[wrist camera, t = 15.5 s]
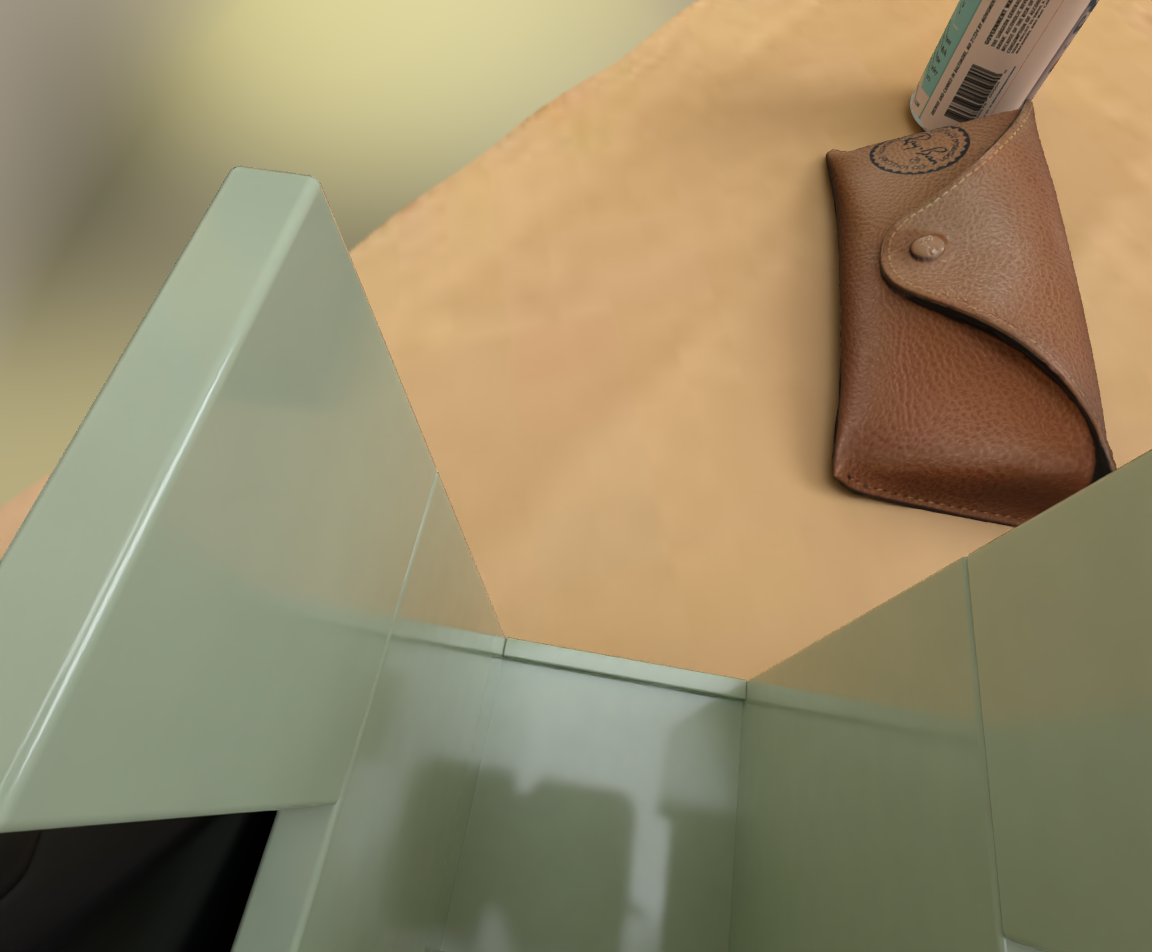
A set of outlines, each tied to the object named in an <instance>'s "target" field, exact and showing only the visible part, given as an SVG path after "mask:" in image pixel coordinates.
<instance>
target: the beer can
mask: <svg viewBox="0 0 1152 952" xmlns="http://www.w3.org/2000/svg"><path fill="white" fill-rule="evenodd" d="M1098 1H1099V0H960V1H959V3H958V5H957V7H956V9H955V11H954V13H953V15H952V17H951V19H950V21H949V23H948V25H947V27H946V29H945V31H944V33H943V35H942V37H941V39H940V41H939V43H938V45H937V47H936V49H935V51H934V53H933V55H932V57H931V59H930V61H929V63H928V65H927V67H926V69H925V71H924V73H923V75H922V77H921V79H920V81H919V83H918V85H917V87H916V89H915V91H914V92H913V94H912V96H911V99H910V109H911V113H912V115H913V117H914V119H915V121H916V122H917V123H918V124H919V125H920V126H921V127H922V128H923V129H924V130H925V131H930V130H933V129H937V128H941V127H945V126H950V125H954V124H958V123H962V122H966V121H969V120H974V119H978V118H982V117H986V116H989V115H993V114H998V113H1001V112H1006V111H1013V110H1017V109H1021V108H1022V106H1023V104H1024V102H1025V100H1026V99H1030V100H1032V99H1033V97H1034V96H1035V94H1036V93H1037V91H1038V90H1039V88H1040V87H1041V85H1042V84H1043V82H1044V81H1045V79H1046V78H1047V77H1048V75H1049V74H1050V72H1051V71H1052V69H1053V68H1054V66H1055V65H1056V63H1057V62H1058V60H1059V59H1060V57H1061V56H1062V54H1063V53H1064V51H1065V50H1066V49H1067V47H1068V46H1069V44H1070V43H1071V41H1072V40H1073V38H1074V37H1075V35H1076V34H1077V32H1078V31H1079V29H1080V28H1081V26H1082V25H1083V23H1084V22H1085V20H1086V19H1087V18H1088V16H1089V15H1090V13H1091V12H1092V10H1093V9H1094V7H1095V6H1096V4H1097V3H1098Z"/></svg>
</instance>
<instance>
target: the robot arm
mask: <svg viewBox="0 0 1152 952" xmlns="http://www.w3.org/2000/svg"><path fill="white" fill-rule="evenodd" d="M276 813H277V810H275V811H264V812H252V813H241V814H229V815H218V816H206V817H195V818H183V819H171V820H160V821H148V822H137V823H125V824H114V825H102V826H90V827H79V828H67V829H56V830H44V831H33V832H21V833H10V834H0V952H230V951H231V948H232V945H233V942H234V939H235V936H236V933H237V930H238V927H239V924H240V921H241V918H242V915H243V912H244V909H245V906H246V903H247V900H248V897H249V894H250V891H251V888H252V885H253V882H254V879H255V876H256V873H257V870H258V867H259V864H260V861H261V858H262V855H263V852H264V849H265V846H266V843H267V840H268V837H269V834H270V831H271V828H272V825H273V822H274V819H275V816H276Z"/></svg>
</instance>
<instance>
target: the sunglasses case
mask: <svg viewBox="0 0 1152 952" xmlns="http://www.w3.org/2000/svg"><path fill="white" fill-rule="evenodd" d="M826 162H827V168H828V173H829V178H830V182H831V187H832V192H833V197H834V203H835V211H836V219H837V230H838V247H839V270H840V306H841V322H840V323H841V331H840V337H841V344H840V346H841V359H840V380H839V405H838V411H837V417H836V424H835V435H834V445H833V456H832V473H833V478H834V479H835V480H837V481H838V482H839V483H840V484H841V485H843V486H844V487H845V488H847V489H848V490H850V491H852V492H854V493H856V494H860V495H864V496H869V497H873V498H877V499H880V500H884V501H888V502H892V503H896V504H900V505H904V506H909V507H914V508H919V509H925V510H929V511H934V512H939V513H945V514H950V515H955V516H960V517H966V518H971V519H976V520H980V521H985V522H992V523H998V524H1003V525H1009V526H1016V527H1017V526H1019V525H1021V524H1022V523H1024V522H1026V521H1028V520H1029V519H1031V518H1033V517H1035V516H1036V515H1038V514H1040V513H1042V512H1043V511H1045V510H1047V509H1048V508H1050V507H1052V506H1054V505H1055V504H1057V503H1059V502H1061V501H1062V500H1064V499H1066V498H1068V497H1069V496H1071V495H1073V494H1075V493H1076V492H1078V491H1080V490H1082V489H1083V488H1085V487H1087V486H1089V485H1090V484H1092V483H1094V482H1096V481H1097V480H1099V479H1101V478H1103V477H1104V476H1106V475H1108V474H1109V473H1111V472H1113V471H1115V470H1116V463H1115V461H1114V460H1113V457H1112V456H1113V453H1112V450H1111V449H1110V446H1109V444H1108V441H1107V439H1106V430H1105V424H1104V416H1103V409H1102V405H1101V398H1100V391H1099V386H1098V380H1097V374H1096V370H1095V365H1094V359H1093V353H1092V348H1091V344H1090V340H1089V334H1088V329H1087V324H1086V319H1085V315H1084V309H1083V305H1082V300H1081V296H1080V292H1079V287H1078V284H1077V278H1076V275H1075V270H1074V266H1073V261H1072V257H1071V252H1070V250H1069V244H1068V242H1067V236H1066V233H1065V227H1064V224H1063V220H1062V216H1061V212H1060V208H1059V204H1058V200H1057V195H1056V191H1055V188H1054V185H1053V181H1052V178H1051V175H1050V172H1049V168H1048V165H1047V162H1046V159H1045V156H1044V152H1043V148H1042V146H1041V141H1040V139H1039V135H1038V130H1037V126H1036V122H1035V113H1034V108H1033V104H1032V102H1031V100H1030V99H1026V100H1025V102H1024V104H1023V106H1022V108H1021V109H1017V110H1013V111H1006V112H1001V113H998V114H993V115H989V116H986V117H982V118H978V119H974V120H969V121H966V122H962V123H958V124H954V125H950V126H945V127H941V128H937V129H933V130H930V131H926V132H921V133H916V134H913V135H909V136H904V137H902V138H897V139H893V140H889V141H885V142H881V143H878V144H874V145H870V146H866V147H863V148H859V149H856V150H854V151H849V152H846V151H839V150H835V149H832V150H831V151H829V152H827V154H826Z"/></svg>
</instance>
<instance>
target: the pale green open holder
mask: <svg viewBox="0 0 1152 952" xmlns="http://www.w3.org/2000/svg"><path fill="white" fill-rule="evenodd" d="M275 810H277V813H276V816H275V819H274V822H273V825H272V828H271V831H270V834H269V837H268V840H267V843H266V846H265V849H264V852H263V855H262V858H261V861H260V864H259V867H258V870H257V873H256V876H255V879H254V882H253V885H252V888H251V891H250V894H249V897H248V900H247V903H246V906H245V909H244V912H243V915H242V918H241V921H240V924H239V927H238V930H237V933H236V936H235V939H234V942H233V945H232V948H231V951H230V952H1152V449H1151V450H1150V451H1148V452H1146V453H1144V454H1143V455H1141V456H1139V457H1137V458H1136V459H1134V460H1132V461H1130V462H1129V463H1127V464H1125V465H1123V466H1122V467H1120V468H1118V469H1116V470H1115V471H1113V472H1111V473H1109V474H1108V475H1106V476H1104V477H1103V478H1101V479H1099V480H1097V481H1096V482H1094V483H1092V484H1090V485H1089V486H1087V487H1085V488H1083V489H1082V490H1080V491H1078V492H1076V493H1075V494H1073V495H1071V496H1069V497H1068V498H1066V499H1064V500H1062V501H1061V502H1059V503H1057V504H1055V505H1054V506H1052V507H1050V508H1048V509H1047V510H1045V511H1043V512H1042V513H1040V514H1038V515H1036V516H1035V517H1033V518H1031V519H1029V520H1028V521H1026V522H1024V523H1022V524H1021V525H1019V526H1017V527H1015V528H1014V529H1012V530H1010V531H1008V532H1007V533H1005V534H1003V535H1001V536H1000V537H998V538H996V539H994V540H993V541H991V542H989V543H987V544H986V545H984V546H982V547H981V548H979V549H977V550H975V551H974V552H972V553H970V554H969V555H968V557H962V558H960V559H959V560H957V561H955V562H953V563H952V564H950V565H948V566H946V567H945V568H943V569H941V570H940V571H938V572H936V573H934V574H933V575H931V576H929V577H927V578H926V579H924V580H922V581H920V582H919V583H917V584H915V585H913V586H912V587H910V588H908V589H907V590H905V591H903V592H901V593H900V594H898V595H896V596H894V597H893V598H891V599H889V600H887V601H886V602H884V603H882V604H880V605H879V606H877V607H875V608H873V609H872V610H870V611H868V612H867V613H865V614H863V615H861V616H860V617H858V618H856V619H854V620H853V621H851V622H849V623H847V624H846V625H844V626H842V627H840V628H839V629H837V630H835V631H833V632H832V633H830V634H828V635H827V636H825V637H823V638H821V639H820V640H818V641H816V642H814V643H813V644H811V645H809V646H807V647H806V648H804V649H802V650H800V651H799V652H797V653H795V654H793V655H792V656H790V657H788V658H787V659H785V660H783V661H781V662H780V663H778V664H776V665H774V666H773V667H771V668H769V669H767V670H766V671H764V672H762V673H760V674H759V675H757V676H755V677H754V678H752V679H750V680H748V681H746V680H743V679H738V678H732V677H727V676H721V675H715V674H710V673H704V672H699V671H693V670H688V669H682V668H676V667H671V666H665V665H660V664H654V663H648V662H643V661H637V660H632V659H626V658H620V657H615V656H609V655H604V654H598V653H592V652H587V651H581V650H576V649H570V648H565V647H559V646H553V645H548V644H542V643H537V642H531V641H525V640H520V639H514V638H509V637H508V638H507V639H506V637H505V635H504V632H503V630H502V627H501V625H500V622H499V620H498V618H497V615H496V613H495V610H494V608H493V605H492V603H491V600H490V598H489V596H488V593H487V591H486V588H485V586H484V583H483V581H482V578H481V576H480V573H479V571H478V569H477V566H476V564H475V561H474V559H473V556H472V554H471V551H470V549H469V546H468V544H467V542H466V539H465V537H464V534H463V532H462V529H461V527H460V524H459V522H458V520H457V517H456V515H455V512H454V510H453V507H452V505H451V502H450V500H449V497H448V495H447V493H446V490H445V488H444V485H443V483H442V480H441V478H440V475H439V473H438V472H437V469H436V465H435V463H434V461H433V458H432V456H431V453H430V451H429V448H428V446H427V443H426V441H425V438H424V436H423V434H422V431H421V429H420V426H419V424H418V421H417V419H416V416H415V414H414V411H413V409H412V407H411V404H410V402H409V399H408V397H407V394H406V392H405V389H404V387H403V384H402V382H401V380H400V377H399V375H398V372H397V370H396V367H395V365H394V362H393V360H392V358H391V355H390V353H389V350H388V348H387V345H386V343H385V340H384V338H383V335H382V333H381V331H380V328H379V326H378V323H377V321H376V318H375V316H374V313H373V311H372V308H371V306H370V304H369V301H368V299H367V296H366V294H365V291H364V289H363V286H362V284H361V281H360V279H359V277H358V274H357V272H356V269H355V267H354V264H353V262H352V259H351V257H350V254H349V252H348V250H347V247H346V245H345V242H344V240H343V237H342V235H341V233H340V230H339V228H338V225H337V223H336V220H335V218H334V215H333V213H332V211H331V208H330V206H329V203H328V201H327V198H326V196H325V193H324V191H323V188H322V186H321V183H320V182H319V181H318V180H317V179H316V178H314V177H312V176H310V175H303V174H296V173H289V172H281V171H274V170H267V169H259V168H251V167H245V166H238V167H234V168H233V169H231V170H230V171H229V173H228V175H227V176H226V178H225V180H224V181H223V183H222V185H221V187H220V188H219V190H218V192H217V193H216V195H215V197H214V199H213V200H212V202H211V204H210V205H209V207H208V209H207V210H206V212H205V214H204V216H203V217H202V219H201V221H200V222H199V224H198V226H197V227H196V229H195V231H194V232H193V234H192V236H191V238H190V239H189V241H188V243H187V244H186V246H185V248H184V250H183V251H182V253H181V255H180V256H179V258H178V260H177V262H176V263H175V265H174V266H173V268H172V270H171V272H170V273H169V275H168V277H167V278H166V280H165V282H164V283H163V285H162V287H161V289H160V290H159V292H158V294H157V295H156V297H155V299H154V300H153V302H152V304H151V306H150V307H149V309H148V311H147V312H146V314H145V316H144V317H143V319H142V321H141V323H140V324H139V326H138V328H137V329H136V331H135V333H134V334H133V336H132V338H131V340H130V341H129V343H128V345H127V346H126V348H125V350H124V351H123V353H122V355H121V357H120V358H119V360H118V362H117V363H116V365H115V367H114V368H113V370H112V372H111V374H110V375H109V377H108V379H107V380H106V382H105V384H104V385H103V387H102V389H101V390H100V392H99V394H98V396H97V397H96V399H95V401H94V402H93V404H92V406H91V408H90V409H89V411H88V413H87V414H86V416H85V418H84V420H83V421H82V423H81V424H80V426H79V428H78V430H77V431H76V433H75V435H74V437H73V438H72V440H71V442H70V443H69V445H68V447H67V448H66V450H65V452H64V453H63V455H62V457H61V458H60V460H59V462H58V464H57V465H56V467H55V469H54V470H53V472H52V474H51V475H50V477H49V479H48V481H47V482H46V484H45V486H44V487H43V489H42V491H41V492H40V494H39V496H38V498H37V499H36V501H35V503H34V504H33V506H32V508H31V509H30V511H29V513H28V515H27V516H26V518H25V520H24V521H23V523H22V525H21V526H20V528H19V530H18V532H17V533H16V535H15V537H14V538H13V540H12V542H11V543H10V545H9V547H8V549H7V550H6V552H5V554H4V555H3V557H2V559H1V560H0V834H10V833H21V832H33V831H44V830H56V829H67V828H79V827H90V826H102V825H114V824H125V823H137V822H148V821H160V820H171V819H183V818H195V817H206V816H218V815H229V814H241V813H252V812H264V811H275Z"/></svg>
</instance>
